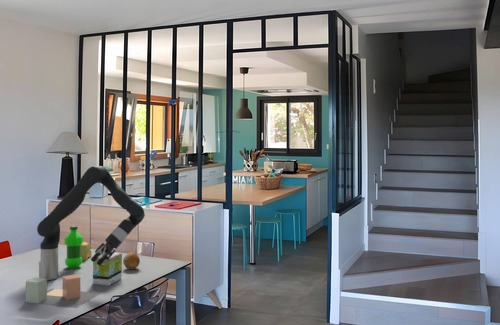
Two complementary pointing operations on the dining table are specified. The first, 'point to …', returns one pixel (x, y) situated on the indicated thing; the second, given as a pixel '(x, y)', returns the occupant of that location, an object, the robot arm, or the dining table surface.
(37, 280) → the grey-green block
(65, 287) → the orange block
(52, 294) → the mat
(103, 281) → the tea box
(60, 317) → the dining table surface
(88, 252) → the cheese
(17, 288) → the dining table surface
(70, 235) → the plastic bottle
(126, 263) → the onion
